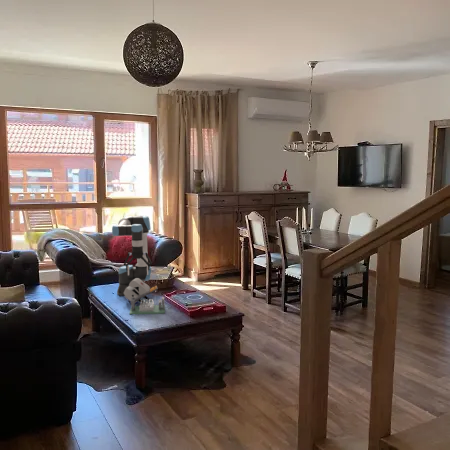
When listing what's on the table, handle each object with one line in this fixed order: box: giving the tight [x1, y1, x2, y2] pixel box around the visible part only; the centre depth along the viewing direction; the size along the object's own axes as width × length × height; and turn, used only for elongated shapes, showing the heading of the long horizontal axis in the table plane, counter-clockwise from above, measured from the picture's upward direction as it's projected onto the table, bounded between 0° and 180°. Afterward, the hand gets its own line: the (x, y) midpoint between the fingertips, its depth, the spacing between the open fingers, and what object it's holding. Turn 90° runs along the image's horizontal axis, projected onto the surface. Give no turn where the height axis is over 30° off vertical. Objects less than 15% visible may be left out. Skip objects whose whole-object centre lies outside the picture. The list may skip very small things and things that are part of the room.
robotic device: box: [124, 278, 152, 304], centre depth 358 cm, size 10×21×20 cm
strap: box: [133, 285, 158, 302], centre depth 340 cm, size 6×21×2 cm, turn 97°
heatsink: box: [139, 298, 155, 312], centre depth 341 cm, size 12×10×6 cm
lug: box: [158, 296, 165, 310], centre depth 342 cm, size 6×4×8 cm
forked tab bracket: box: [130, 298, 136, 311], centre depth 340 cm, size 7×2×8 cm, turn 7°
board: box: [129, 304, 166, 315], centre depth 342 cm, size 16×25×1 cm, turn 97°
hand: (138, 274), depth 334 cm, fingers open, 13 cm apart
